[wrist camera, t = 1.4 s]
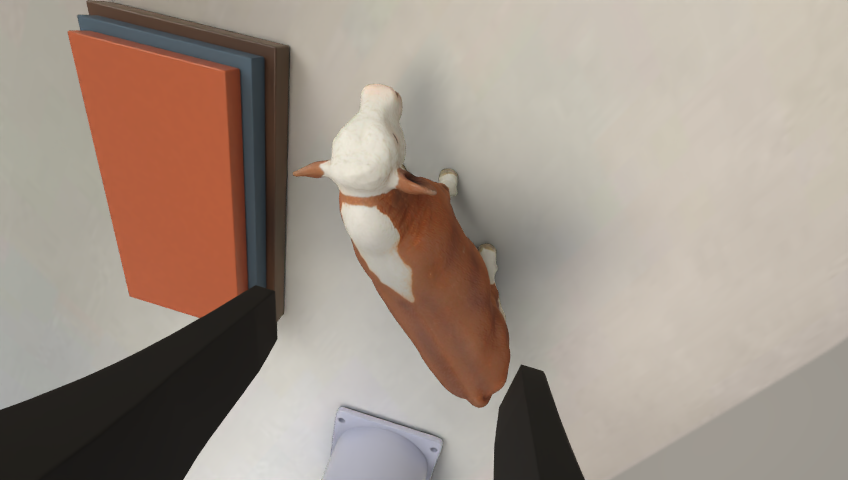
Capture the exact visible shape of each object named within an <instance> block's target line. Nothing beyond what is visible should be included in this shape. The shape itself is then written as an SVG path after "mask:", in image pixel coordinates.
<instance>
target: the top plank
mask: <svg viewBox="0 0 848 480" xmlns="http://www.w3.org/2000/svg"><path fill="white" fill-rule="evenodd" d="M68 36H69V40H70V44H71V49H72V53H73V57H74V61H75V66H76V70H77V74H78V78H79V83H80V87H81V91H82V95H83V100H84V104H85V108H86V113H87V117H88V121H89V125H90V130H91V134H92V138H93V142H94V147H95V151H96V155H97V159H98V164H99V168H100V172H101V176H102V181H103V185H104V189H105V193H106V198H107V202H108V206H109V211H110V215H111V219H112V223H113V228H114V232H115V236H116V240H117V245H118V249H119V253H120V257H121V262H122V266H123V270H124V274H125V279H126V283H127V287H128V292H129V296H131V297H134V298H137V299H140V300H143V301H147V302H150V303H153V304H156V305H160V306H163V307H166V308H169V309H173V310H176V311H179V312H182V313H185V314H189V315H192V316H195V317H198V318H201V317H203V316H205V315H206V314H208V313H210V312H211V311H213V310H215V309H216V308H218V307H220V306H221V305H223V304H225V303H226V302H228V301H230V300H231V299H233V298H235V297H236V296H238V295H240V294H241V293H243V292H245V291H246V290H248V272H247V245H246V219H245V192H244V165H243V139H242V112H241V86H240V69H238V68H235V67H231V66H227V65H223V64H219V63H215V62H211V61H207V60H203V59H200V58H196V57H192V56H188V55H184V54H180V53H176V52H172V51H168V50H164V49H160V48H156V47H152V46H148V45H144V44H140V43H136V42H133V41H129V40H125V39H121V38H117V37H113V36H109V35H105V34H101V33H97V32H93V31H68Z"/></svg>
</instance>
